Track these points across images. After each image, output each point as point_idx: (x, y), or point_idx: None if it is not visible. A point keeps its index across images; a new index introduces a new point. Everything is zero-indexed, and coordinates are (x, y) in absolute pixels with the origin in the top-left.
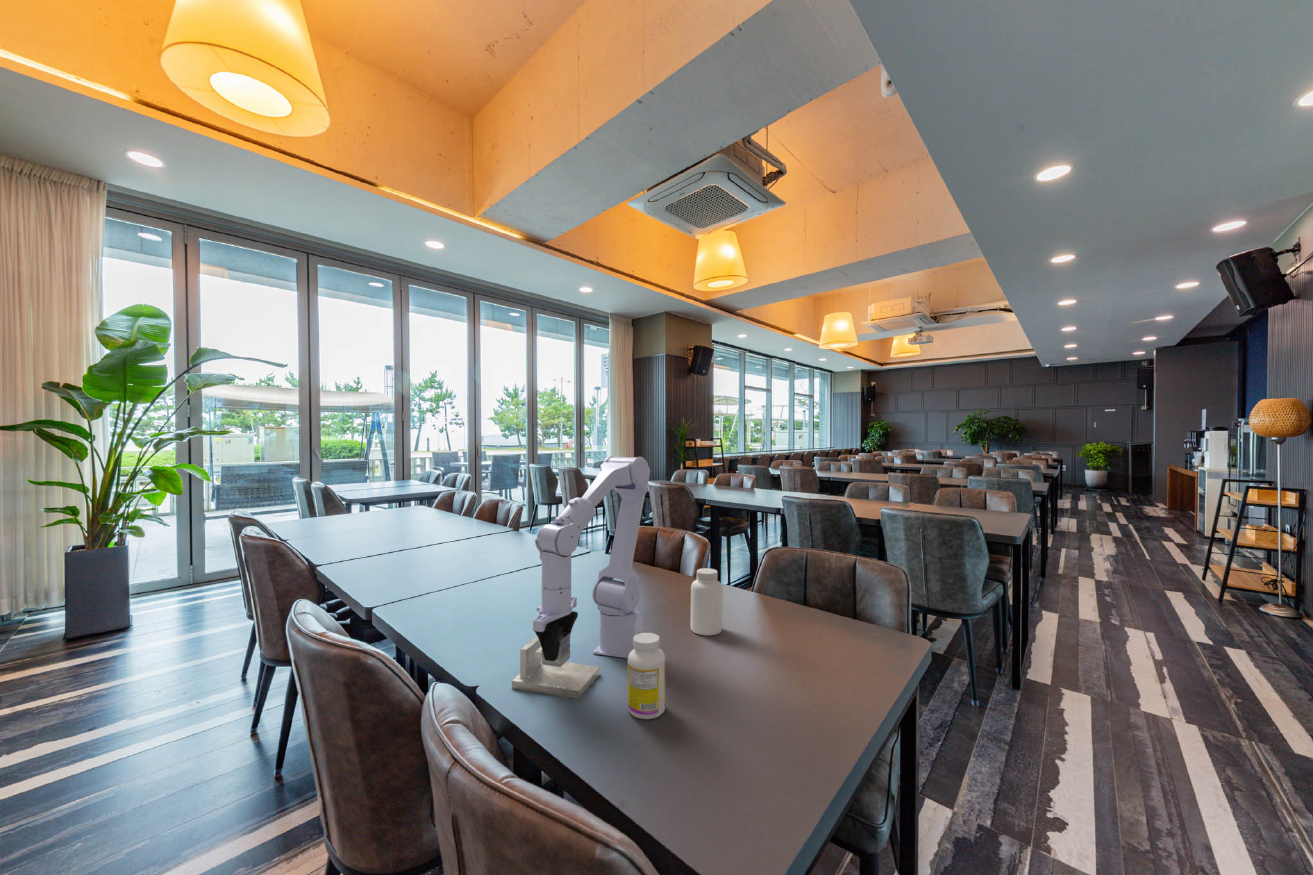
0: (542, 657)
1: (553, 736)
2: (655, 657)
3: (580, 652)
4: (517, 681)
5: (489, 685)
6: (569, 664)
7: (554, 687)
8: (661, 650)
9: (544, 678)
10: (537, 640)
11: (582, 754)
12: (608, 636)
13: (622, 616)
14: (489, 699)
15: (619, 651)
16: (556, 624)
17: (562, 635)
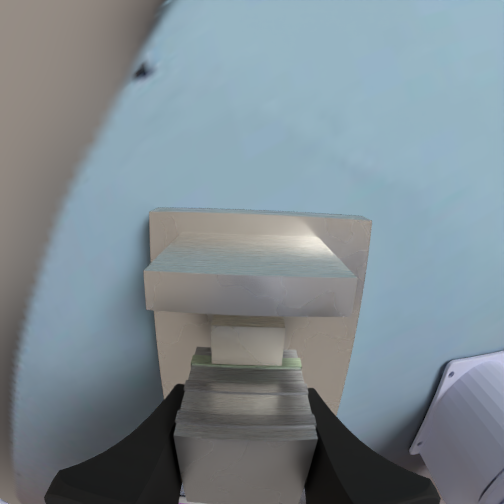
0: (192, 367)
1: (40, 402)
2: None
3: (461, 318)
4: (150, 238)
5: (158, 110)
6: (334, 365)
7: (161, 379)
8: None
9: (204, 329)
10: (305, 313)
11: (39, 445)
12: (460, 435)
13: (477, 501)
14: (78, 175)
15: (434, 430)
16: (327, 489)
17: (257, 494)
